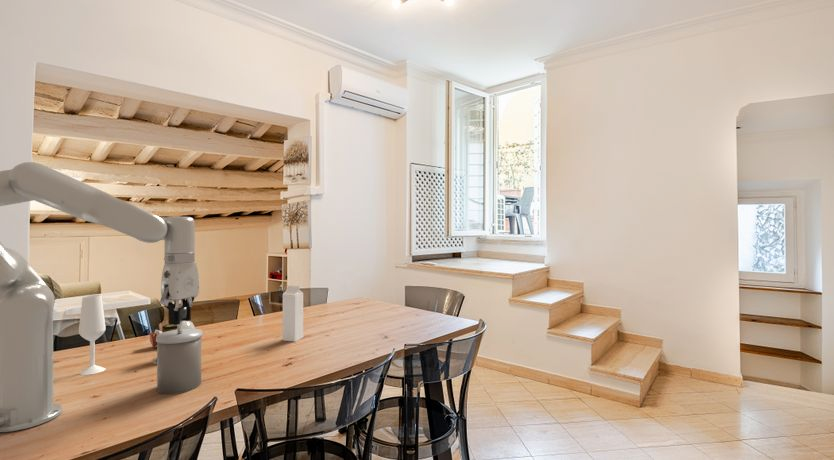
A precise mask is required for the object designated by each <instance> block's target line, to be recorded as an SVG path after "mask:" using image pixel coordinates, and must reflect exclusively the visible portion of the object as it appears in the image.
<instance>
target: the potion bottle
mask: <svg viewBox="0 0 834 460" xmlns="http://www.w3.org/2000/svg"><path fill="white" fill-rule="evenodd" d="M195 327H196V326H195V325H194V323H193V322H192V321H191V320H190V321H182V329H196V328H195ZM160 333H162V330H158V329H155V331H154V332H149V341H150V344H151V346H152V348H153V349H154V348H155V347H157V342H156V336H157V335H158V334H160Z"/></svg>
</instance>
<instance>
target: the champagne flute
mask: <svg viewBox="0 0 834 460" xmlns="http://www.w3.org/2000/svg"><path fill="white" fill-rule="evenodd" d="M79 318H80V319H79V324H78V325H79V326H78V335H80V336H81V338H83V339H84V340H86V341H89V366H87V367H86V368H84V369H82V370H81V371H79V372H78V375H80V376H89V375H90V376H91V375H95V374H99V373H102V372H104V371H105V370H106V368H105V367H102V366H101V365H96V364H95V363H96V360H95V359H96V356H95V355H96V354H95V353H96V351H95V350H96V349H95V347H96V345H95V344H96V343H95V342H96V340H98V339H99V338H100V337H101V336H102V335H104V333H105V332H106V320H105V311H104V303H103V295H102V294H89V295H88V294H87V295H84V296H83V295H82V299H81V308H80V317H79Z"/></svg>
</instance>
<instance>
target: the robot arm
mask: <svg viewBox="0 0 834 460" xmlns="http://www.w3.org/2000/svg"><path fill="white" fill-rule="evenodd" d="M32 201H35V202H37V203H40V204H42V205H45V206H48V207H50V208H52V209H55V210H58V211H59V212H63V213H64V214H67V215H71V216H73V217H75V218H77V219H81V220H83V221H86V222H89V223H93V224H97V225H100V226H104V227H107V228H109V229H111V230H114V231H116V232H119V233H121V234H124V235H127V236H129V237H132V238H134V239H137V240H138V241H140V242H143V243H148V244H152V243H158V242H160V241H164V258H163V260H164V264H163V268H162V274H161V279H160V280H161V283H160V284H161V285H160V294H161V296H160V300H159V303H160V305H162V306H164V307H165V308H166V311H168V312H167V313H168V316H167V317H168V323H167V324H174V325H178V324H180V310H178V307H179V306H180V305H181V306H186V307H187V318H184V319H182V321H191V318H192V307H193V303H194V301H195V299H197V297H198V296H199V293H200V280H199V270H198V266H197V263H196V262H195V260H196V258H195V256H196V255H195V252H196V251H195V249H196V248H195V242H196V241H195V240H196V239H195V234H196V232H195V231H196V230H195V225H196V224H195V223H196V222H195V220H194V218H193V217H191V216H167V217H166V216H165V217H161V216H158V215H157V214H154V213H153V212H150V211H148V210H146V209H143V208H141V207H138V206H136V205H134V204H132V203H130V202H127V201H125V200H122V199H120V198H118V197H116V196H113V195H111V194H110V193H107V192H106V191H103V190H101V189H99V188H98V187H97V188H96V187H94V186H92V185H90V184H87V183H85V182H83V181H80V180H79V179H76V178H74V177H71V176H69V175H67V174H64V173H62V172H60V171H58V170H55V169H53V168H51V167H49V166H48V165H44V164H41V163H38V162H34V161H26V162H22V163H19V164H17V165H15V166H14V167H12V169H4V170H0V207H3V206H9V205H17V204H21V203H27V202H32ZM54 294H55V293H54V292H53V290H51V287H49V286H48V285H47V283H46V282H45V281H44V280H43V279H42V277H41V276H40V275H39V274H38V273H37V271H36V270H35V269H34V268H33V267H32V266H31V264H30V263H29V262H28V261H27V260H26V258H24V256H23V255H21V254H20V253H19V252H17V251H16V250H13V249H11V248H8V247H6V246H5V245H4V244H3V243H2V242H1V241H0V433H9V432H15V431H21V430H24V429H25V430H26V429H29V428H34V427H36V426H39V425H43V424H44V423H47V422H50V421H52V420H53V419H55V418H57V417H58V416H59V415H61V413H62V411H63V410H62V409H63V408H62V407H63V406H62V405H60V404H59V403H54V307H55V303H56V302H55V301H56V297H55V295H54ZM179 304H180V305H179Z"/></svg>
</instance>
